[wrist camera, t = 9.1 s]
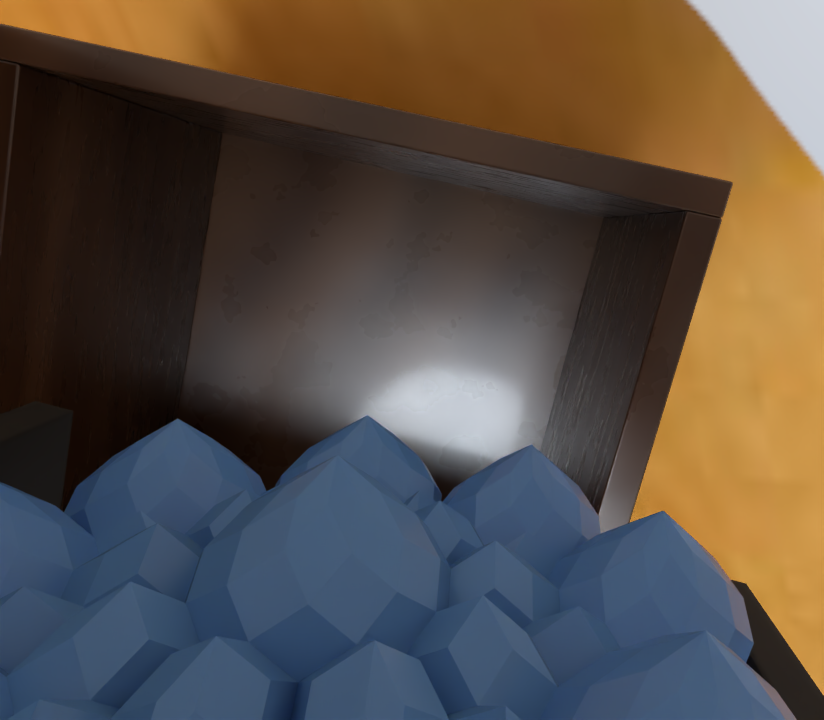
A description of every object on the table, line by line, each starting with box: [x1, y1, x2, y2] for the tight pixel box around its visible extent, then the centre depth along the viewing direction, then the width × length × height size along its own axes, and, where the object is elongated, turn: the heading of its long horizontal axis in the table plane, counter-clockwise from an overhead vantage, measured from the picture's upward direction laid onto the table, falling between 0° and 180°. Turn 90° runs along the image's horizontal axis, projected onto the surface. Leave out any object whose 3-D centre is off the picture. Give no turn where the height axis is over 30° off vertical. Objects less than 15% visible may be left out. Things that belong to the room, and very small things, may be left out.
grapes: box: [0, 415, 797, 720], centre depth 9 cm, size 12×7×12 cm, turn 83°
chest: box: [0, 24, 733, 533], centre depth 25 cm, size 18×17×14 cm
